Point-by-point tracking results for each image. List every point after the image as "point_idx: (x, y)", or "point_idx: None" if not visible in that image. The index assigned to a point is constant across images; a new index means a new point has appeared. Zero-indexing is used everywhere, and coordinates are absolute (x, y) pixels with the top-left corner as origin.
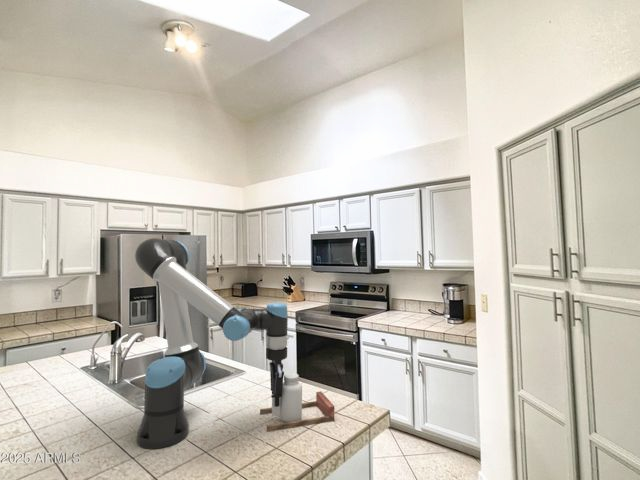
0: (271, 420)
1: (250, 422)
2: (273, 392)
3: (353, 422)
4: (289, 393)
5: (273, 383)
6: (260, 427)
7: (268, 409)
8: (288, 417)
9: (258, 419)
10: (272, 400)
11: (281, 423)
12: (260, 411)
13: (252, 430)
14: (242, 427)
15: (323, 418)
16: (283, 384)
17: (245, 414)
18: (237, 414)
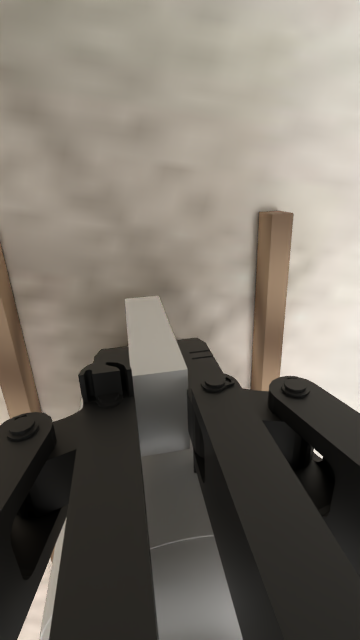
0: (146, 280)
1: (154, 110)
2: (122, 423)
3: (35, 637)
4: (49, 593)
5: (146, 570)
6: (52, 186)
7: (266, 278)
8: (81, 401)
9: (187, 186)
10: (149, 348)
11: (10, 347)
12: (269, 213)
13: (8, 108)
14: (77, 16)
15: (52, 561)
16: (183, 632)
17: (304, 85)
18: (332, 4)
